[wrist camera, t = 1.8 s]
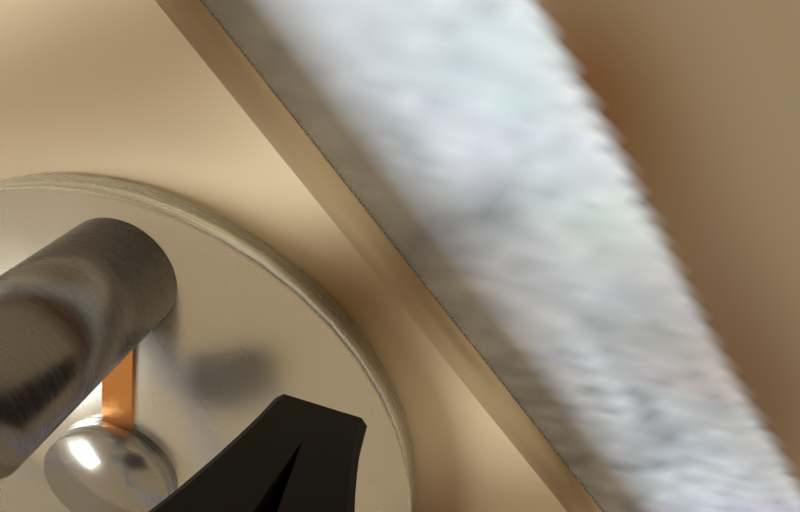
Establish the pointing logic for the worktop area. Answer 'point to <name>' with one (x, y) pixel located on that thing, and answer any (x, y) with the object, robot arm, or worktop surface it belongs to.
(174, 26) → the stand plate
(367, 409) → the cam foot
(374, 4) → the worktop surface
